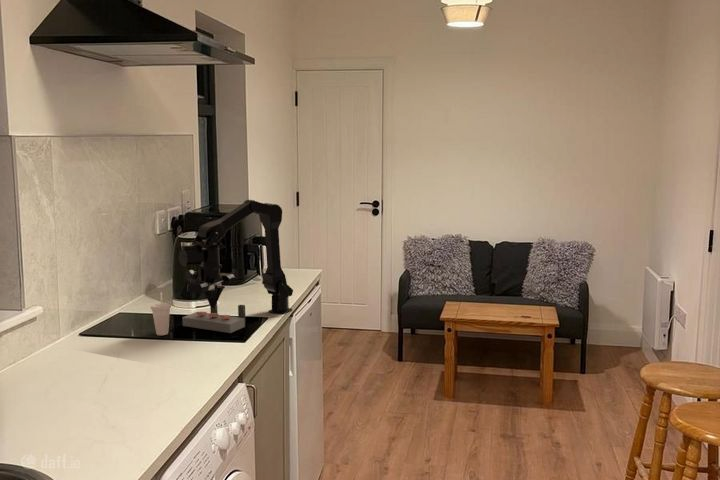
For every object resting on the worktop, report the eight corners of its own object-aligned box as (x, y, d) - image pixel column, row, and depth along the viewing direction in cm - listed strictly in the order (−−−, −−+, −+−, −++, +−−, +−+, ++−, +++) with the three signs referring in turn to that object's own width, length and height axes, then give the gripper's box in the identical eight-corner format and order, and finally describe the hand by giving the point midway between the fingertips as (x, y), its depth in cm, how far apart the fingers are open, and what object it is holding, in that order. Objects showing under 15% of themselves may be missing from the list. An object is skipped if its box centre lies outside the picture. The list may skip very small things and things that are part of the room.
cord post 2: (241, 321, 248) (240, 304, 247) (247, 322, 247) (246, 305, 246) (237, 322, 246) (236, 306, 245) (242, 323, 245) (242, 306, 244)
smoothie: (160, 337, 229) (158, 295, 227) (148, 334, 233) (145, 292, 231) (176, 332, 234) (174, 291, 232) (164, 329, 238) (161, 288, 236)
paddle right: (225, 317, 241) (225, 314, 241) (230, 318, 240) (230, 315, 240) (220, 318, 238) (220, 315, 238) (225, 318, 237) (225, 315, 237)
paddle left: (201, 314, 245) (202, 311, 245) (206, 314, 244) (206, 312, 244) (196, 314, 243) (196, 311, 243) (201, 315, 242) (201, 312, 242)
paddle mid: (213, 315, 243) (213, 313, 243) (218, 316, 242) (218, 313, 242) (208, 316, 240) (208, 313, 240) (213, 317, 240) (213, 314, 240)
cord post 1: (213, 317, 253) (213, 300, 252) (219, 318, 252) (218, 301, 251) (209, 318, 251) (208, 302, 250) (214, 319, 250) (214, 303, 249)
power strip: (198, 319, 250) (197, 311, 249) (244, 326, 241) (244, 318, 240) (182, 325, 243) (182, 317, 242) (230, 333, 234) (230, 324, 233)
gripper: (209, 255, 250) (211, 299, 252) (173, 265, 233) (175, 311, 236) (235, 258, 245) (236, 302, 248) (200, 268, 229) (202, 315, 231)
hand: (212, 307), depth 241 cm, fingers closed
